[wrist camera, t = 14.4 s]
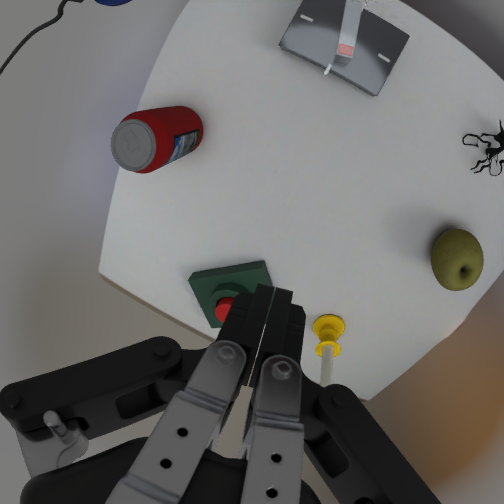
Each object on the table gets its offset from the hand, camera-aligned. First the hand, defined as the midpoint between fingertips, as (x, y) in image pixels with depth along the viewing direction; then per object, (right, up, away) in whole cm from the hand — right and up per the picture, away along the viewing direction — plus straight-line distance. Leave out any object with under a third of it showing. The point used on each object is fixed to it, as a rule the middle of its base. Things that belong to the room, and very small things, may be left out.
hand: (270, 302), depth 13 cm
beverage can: (-10, +18, +24) cm, 32 cm away
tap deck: (+10, +26, +14) cm, 32 cm away
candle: (+12, -10, +34) cm, 38 cm away
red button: (-4, -6, +32) cm, 33 cm away
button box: (-3, -4, +35) cm, 35 cm away
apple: (+27, +3, +23) cm, 36 cm away
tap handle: (+9, +25, +12) cm, 29 cm away
